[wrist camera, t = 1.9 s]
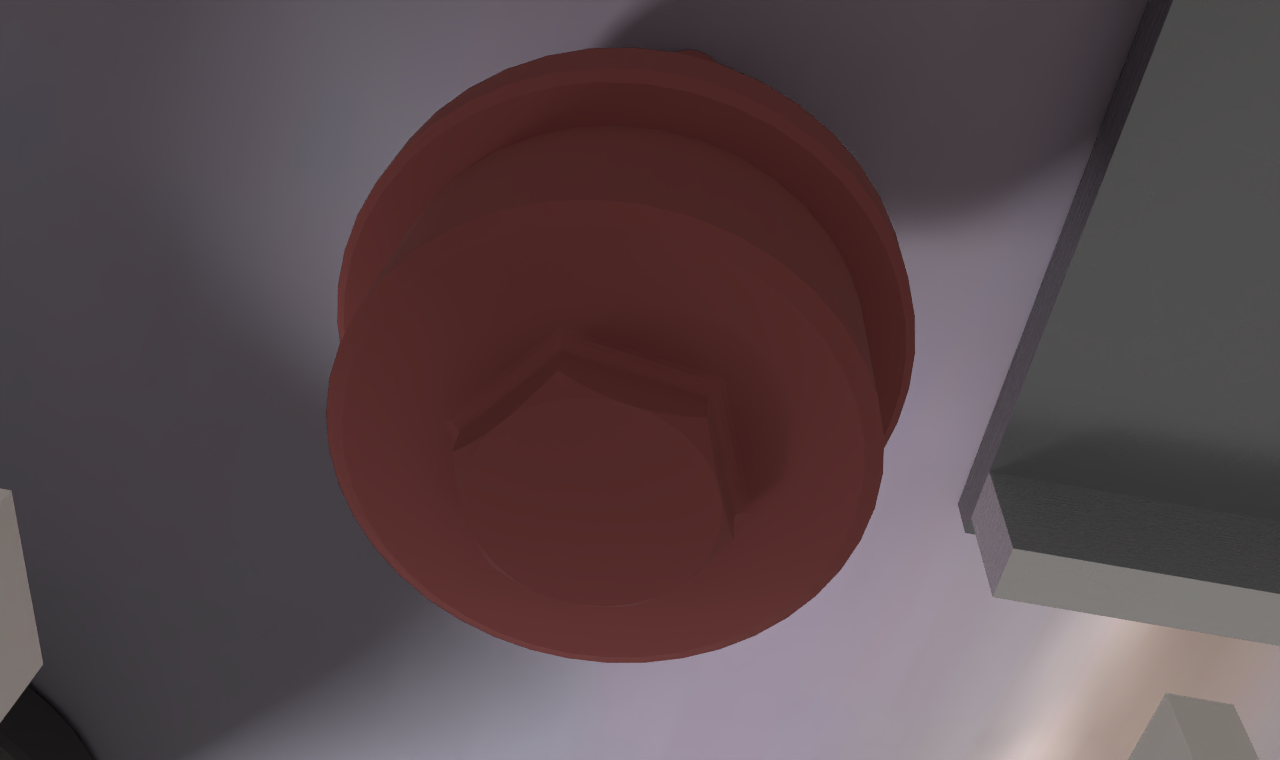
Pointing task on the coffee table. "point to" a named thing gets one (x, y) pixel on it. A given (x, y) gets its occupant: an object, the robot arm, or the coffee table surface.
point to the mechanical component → (619, 356)
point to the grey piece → (1155, 352)
